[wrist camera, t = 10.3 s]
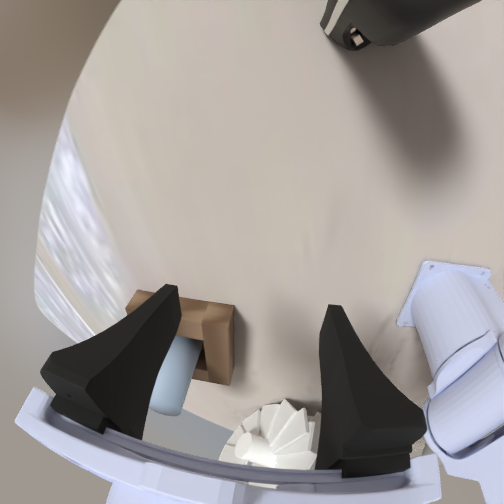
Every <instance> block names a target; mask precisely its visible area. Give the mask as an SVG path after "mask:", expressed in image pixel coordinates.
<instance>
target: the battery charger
mask: <svg viewBox="0 0 504 504" xmlns="http://www.w3.org/2000/svg"><path fill="white" fill-rule="evenodd" d="M480 1H481V0H328V3H327V6H326V10H325V13H324V16H323V18H322V20H321V22H320V25H321V27H322V28H323V29H324V32H325V33H326V34H327V35H330V36H331V37H332V38H333V39H334V40H335V42H337V43H338V44H340V45H341V46H342V47H344V48H346V49H348V50H352V51H357V50H360V49H362V48H364V47H365V46H367V45H369V44H370V43H372V42H373V43H374V44H376V45H380V46H387V45H396V44H398V43H400V42H403V41H405V40H407V39H409V38H411V37H413V36H415V35H417V34H419V33H421V32H423V31H425V30H426V29H428V28H430V27H432V26H434V25H435V24H437V23H439V22H441V21H443V20H444V19H446V18H448V17H450V16H452V15H454V14H456V13H458V12H460V11H462V10H463V9H465V8H468V7H470V6H472V5H474V4H476V3H478V2H480Z"/></svg>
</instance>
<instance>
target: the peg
mask: <svg viewBox="0 0 504 504" xmlns="http://www.w3.org/2000/svg"><path fill="white" fill-rule="evenodd" d="M202 345H203V340H198V339H193V338H187V337H182V336H177V335H176V336H175V338H174V340H173V342H172V344H171V347H170V349H169V351H168V353H167V355H166V357H165V360H164V362H163V364H162V366H161V368H160V371H159V373H158V376H157V379H156V383H155V386H154V389H153V393H152V396H151V400H150V404H149V408H150V409H151V410H153V411H155V412H158V413H160V414H163V415H168V416H178V415H180V413H181V410H182V407H183V404H184V400H185V397H186V394H187V391H188V388H189V385H190V382H191V379H192V376H193V373H194V370H195V367H196V363H197V360H198V357H199V354H200V351H201V348H202Z"/></svg>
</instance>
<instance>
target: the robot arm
mask: <svg viewBox="0 0 504 504" xmlns="http://www.w3.org/2000/svg"><path fill="white" fill-rule="evenodd" d="M431 265H432V267H430V266H431ZM429 267H430V268H429ZM491 273H492V271H491V270H490V269H489V268H482V267H475V266H467V265H460V264H452V263H445V262H437V261H430V260H426V261H424V262H423V263H422V265H421V267H420V270H419V272H418V275H417V277H416V279H415V282H414V284H413V286H412V289H411V291H410V293H409V295H408V298H407V300H406V302H405V304H404V306H403V308H402V310H401V312H400V314H399V316H398V318H397V320H396V323H397V325H398V326H410V327H416V328H417V331H418V334H419V337H420V340H421V343H422V346H423V349H424V352H425V355H426V358H427V361H428V364H429V368H430V371H431V375H432V378H433V382H432V383H431V384H430V385H429V386H428V387H427V388H428V392H429V396H430V398H428V399H427V400H426V402H425V403H424V405H423V407H422V409H421V408H420V407H418V406H417V405H416V404H414V403H413V402H412V401H411V400H409V399H408V398H407V397H406V396H405V395H404V394H403V393H401V392H400V391H399V390H398V389H397V388H396V387H395V386H394V385H393V384H392V382H391V381H390V380H389V379H388V378H387V377H386V376H385V375H384V374H383V372H382V371H381V370H380V369H379V368H378V366H377V365H376V364H375V362H374V361H373V360H372V358H371V357H370V355H369V354H368V352H367V351H366V349H365V348H364V346H363V344H362V343H361V341H360V339H359V338H358V336H357V334H356V332H355V331H354V329H353V327H352V325H351V323H350V321H349V319H348V317H347V315H346V313H345V311H344V309H343V307H342V306H341V305H329V304H328V308H327V311H326V315H325V318H324V321H323V325H322V328H321V331H320V338H319V359H320V371H321V385H322V411H321V424H320V435H319V443H318V451H317V457H316V464H315V469H314V470H298V469H280V468H268V467H258V466H250V465H243V464H236V463H230V462H224V461H218V460H213V459H208V458H203V457H198V456H194V455H190V454H186V453H182V452H178V451H174V450H171V449H167V448H164V447H160V446H157V445H154V444H151V443H148V442H144V441H142V437H143V431H144V426H145V421H146V416H147V412H148V408H149V404H150V400H151V396H152V393H153V389H154V386H155V383H156V379H157V376H158V373H159V371H160V368H161V366H162V364H163V362H164V360H165V357H166V355H167V353H168V351H169V349H170V347H171V344H172V342H173V340H174V338H175V336H176V333H177V330H178V327H179V324H180V321H181V317H182V313H181V307H180V300H179V294H178V288H177V286H175V285H169V284H165V285H164V286H163V287H162V288H160V289H159V290H158V291H157V292H156V293H154V294H153V295H152V296H151V297H150V298H149V299H147V300H146V301H145V302H144V303H143V304H141V305H140V306H139V307H138V308H136V309H135V310H134V311H133V312H131V313H130V314H129V315H127V316H126V317H125V318H123V319H122V320H120V321H119V322H118V323H116V324H115V325H113V326H111V327H110V328H108V329H106V330H105V331H103V332H101V333H99V334H97V335H95V336H93V337H91V338H90V339H87V340H85V341H83V342H81V343H78V344H76V345H73V346H70V347H68V348H65V349H62V350H58V351H55V352H52V354H51V355H50V356H49V358H48V360H47V361H46V362H45V364H44V366H43V367H42V369H41V371H40V373H41V375H42V377H43V379H44V380H45V382H46V383H47V384H48V385H49V386H50V388H51V389H52V390H53V391H54V392H55V393H56V395H55V397H54V398H53V397H51V396H50V395H49V394H47V393H45V392H44V391H42V390H40V389H39V388H37V387H33V389H32V391H31V393H30V394H29V396H28V398H27V400H26V401H25V403H24V405H23V407H22V409H21V410H20V412H19V414H18V416H17V418H16V420H15V423H16V424H17V425H18V426H20V427H21V428H22V429H23V430H25V431H26V432H27V433H28V434H30V435H31V436H32V437H34V438H35V439H36V440H38V441H39V442H40V443H42V444H43V445H45V446H46V447H48V448H49V449H51V450H53V451H54V452H56V453H57V454H59V455H61V456H62V457H64V458H66V459H67V460H69V461H71V462H73V463H74V464H76V465H78V466H80V467H82V468H83V469H86V470H87V471H89V472H91V473H93V474H95V475H97V476H99V477H101V478H103V479H105V480H108V481H110V482H112V483H113V484H112V487H111V489H110V492H109V495H108V498H107V501H106V504H428V503H431V502H434V501H436V500H439V499H441V497H442V495H441V482H440V472H439V464H438V457H439V458H440V460H441V461H442V463H443V465H444V467H445V470H446V473H447V474H449V475H452V476H456V477H460V478H466V479H471V480H476V481H478V482H479V484H480V487H481V490H482V493H483V496H484V499H485V502H486V504H504V425H503V426H502V427H500V426H501V425H502V424H504V301H503V300H502V298H501V296H500V295H499V293H498V292H497V291H496V289H495V288H494V286H493V285H492V283H491V282H490V280H489V278H490V276H491ZM498 427H500V428H499V429H498V430H496V431H495V432H493V433H492V434H490V435H489V436H487V437H485V436H486V435H488V434H489V433H491V432H492V431H494V430H495V429H497V428H498ZM422 436H423V437H424V439H425V441H426V443H427V445H428V446H429V448H430V449H431V450H432V451H433V452H434V453H431V454H426V455H421V456H417V457H413V458H411V459H410V455H409V453H411V452H412V444H413V443H415V442H416V441H417V440H419V439H420V438H421V437H422ZM483 437H485V438H483ZM481 438H483V439H481ZM148 459H150V460H153V461H156V462H152V461H150V460H148ZM157 462H159V463H157ZM161 463H162V464H161ZM168 465H169V466H168ZM175 467H176V468H175ZM179 468H180V469H179ZM195 472H196V473H195ZM199 473H200V474H199ZM204 474H205V475H204ZM208 475H209V476H208ZM213 476H214V477H213ZM219 477H220V478H219ZM224 478H225V479H224ZM229 479H231V480H229ZM234 480H238V481H246V482H253V483H262V484H273V485H278V486H277V487H276V489H274V488H266V487H260V486H253V485H248V484H244V483H241V482H237V481H234Z"/></svg>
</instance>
